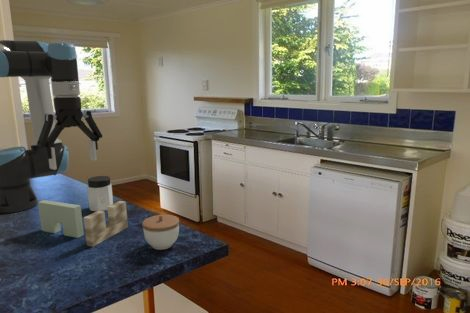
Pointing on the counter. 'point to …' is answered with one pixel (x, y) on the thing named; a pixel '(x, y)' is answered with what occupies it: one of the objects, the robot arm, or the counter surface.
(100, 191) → the jar
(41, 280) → the counter surface
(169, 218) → the lidded jar
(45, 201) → the sage plate
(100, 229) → the beech u-shaped block
